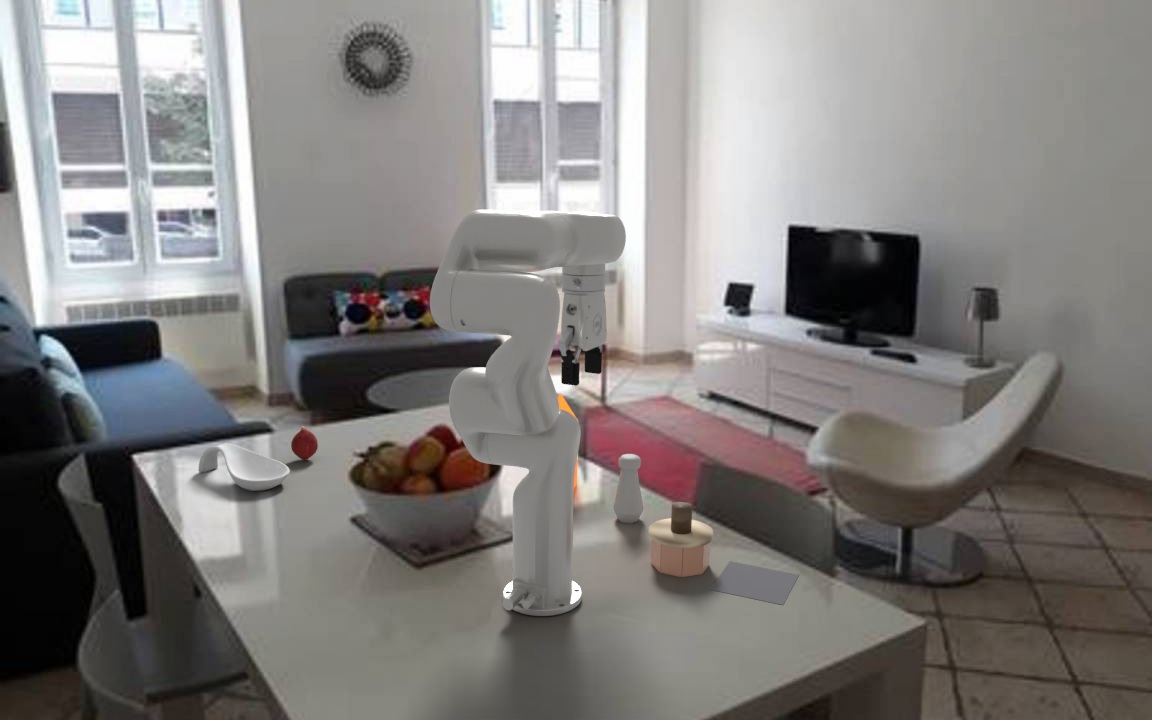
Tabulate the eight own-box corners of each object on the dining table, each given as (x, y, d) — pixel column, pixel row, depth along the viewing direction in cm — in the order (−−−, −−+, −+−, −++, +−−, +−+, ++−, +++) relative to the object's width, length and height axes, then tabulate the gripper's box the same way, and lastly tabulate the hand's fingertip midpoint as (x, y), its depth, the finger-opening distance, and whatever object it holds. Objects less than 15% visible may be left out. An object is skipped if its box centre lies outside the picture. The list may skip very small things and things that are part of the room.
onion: (323, 459, 216) (322, 425, 214) (304, 466, 211) (302, 431, 209) (306, 454, 219) (304, 421, 217) (286, 461, 214) (284, 427, 212)
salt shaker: (643, 514, 186) (645, 451, 183) (642, 525, 181) (644, 461, 178) (614, 512, 187) (615, 450, 184) (612, 524, 181) (614, 459, 178)
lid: (701, 552, 154) (703, 522, 153) (639, 540, 159) (640, 511, 158) (721, 529, 164) (722, 500, 163) (661, 518, 169) (662, 490, 168)
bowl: (697, 583, 157) (698, 549, 156) (645, 572, 161) (646, 539, 159) (713, 561, 165) (715, 529, 164) (663, 551, 169) (664, 520, 168)
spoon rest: (301, 484, 200) (300, 452, 199) (257, 501, 191) (255, 467, 189) (228, 463, 212) (226, 433, 211) (182, 478, 203) (180, 446, 201)
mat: (782, 608, 149) (782, 604, 149) (709, 592, 154) (709, 589, 154) (798, 578, 159) (799, 574, 159) (729, 564, 164) (730, 561, 164)
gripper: (582, 291, 155) (580, 391, 159) (622, 279, 171) (619, 371, 174) (541, 288, 158) (541, 386, 162) (584, 276, 174) (582, 366, 178)
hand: (581, 378), depth 168 cm, fingers open, 9 cm apart
